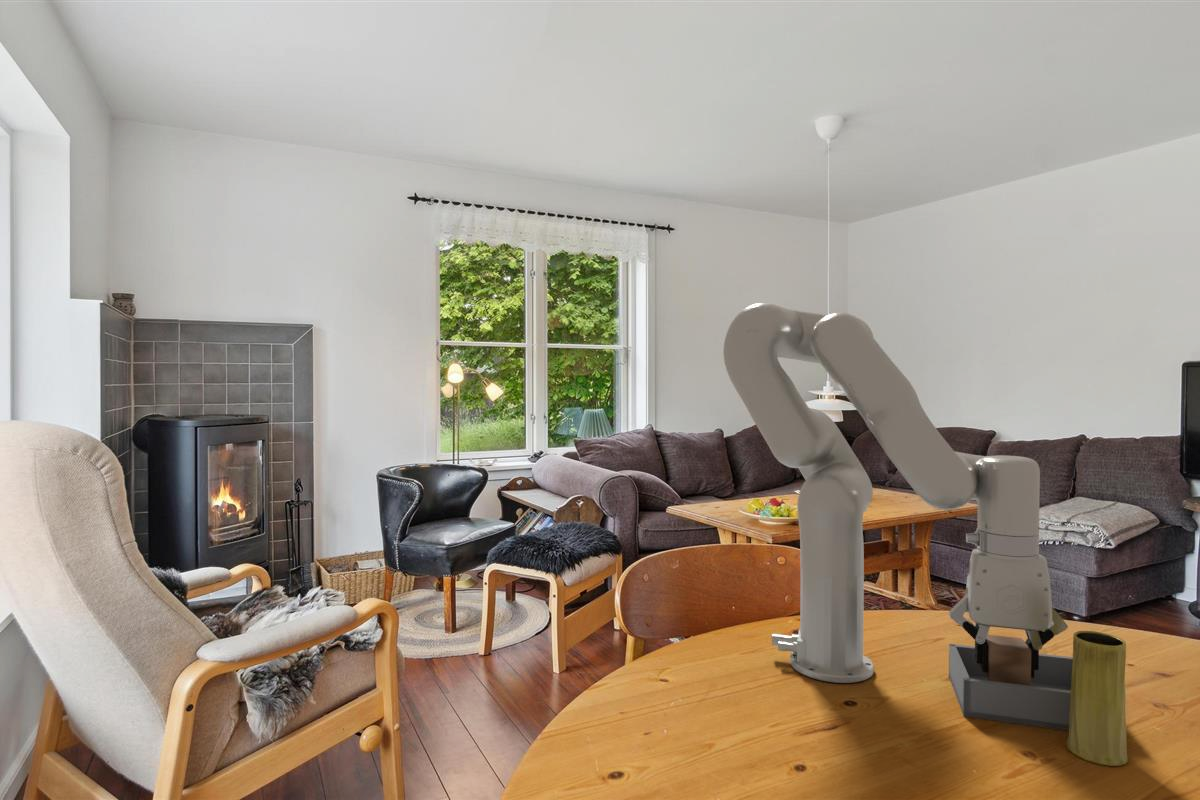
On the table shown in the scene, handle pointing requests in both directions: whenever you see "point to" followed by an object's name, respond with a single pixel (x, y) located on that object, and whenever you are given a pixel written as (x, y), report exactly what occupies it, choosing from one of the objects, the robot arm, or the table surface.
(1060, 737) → the table surface
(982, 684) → the tote
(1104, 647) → the vase
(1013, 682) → the walnut cube
